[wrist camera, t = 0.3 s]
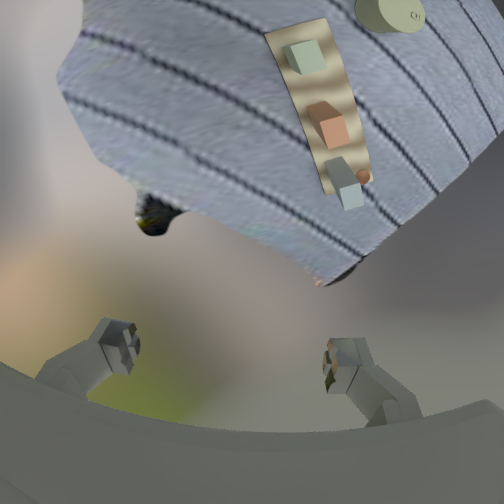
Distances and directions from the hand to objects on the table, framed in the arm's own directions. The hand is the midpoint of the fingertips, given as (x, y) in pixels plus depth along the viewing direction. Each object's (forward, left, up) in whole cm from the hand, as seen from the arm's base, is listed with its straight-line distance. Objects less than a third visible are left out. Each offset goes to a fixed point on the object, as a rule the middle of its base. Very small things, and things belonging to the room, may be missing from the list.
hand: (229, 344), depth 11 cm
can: (-33, +5, -51) cm, 61 cm away
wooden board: (-9, +13, -51) cm, 53 cm away
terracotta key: (-7, +12, -49) cm, 51 cm away
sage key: (-13, +1, -49) cm, 51 cm away
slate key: (-1, +24, -49) cm, 54 cm away
